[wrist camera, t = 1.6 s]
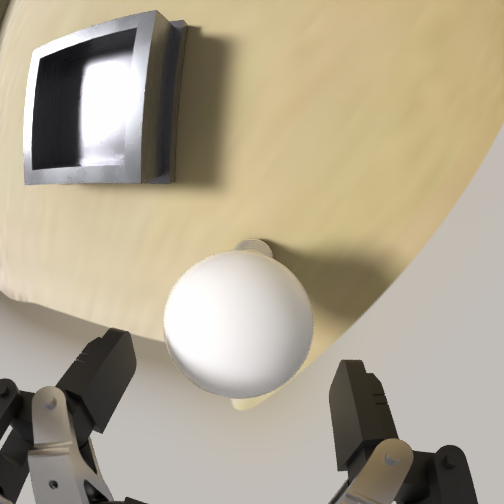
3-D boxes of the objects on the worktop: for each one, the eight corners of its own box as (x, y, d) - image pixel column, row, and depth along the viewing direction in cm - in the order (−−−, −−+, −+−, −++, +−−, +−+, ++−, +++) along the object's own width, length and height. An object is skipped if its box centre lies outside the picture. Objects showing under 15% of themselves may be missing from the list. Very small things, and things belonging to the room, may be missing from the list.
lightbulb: (288, 302, 20) (292, 434, 10) (202, 285, 20) (146, 405, 10) (310, 218, 18) (350, 323, 8) (213, 199, 18) (133, 280, 8)
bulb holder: (63, 53, 14) (30, 46, 10) (188, 25, 13) (166, 1, 9) (55, 181, 18) (21, 192, 14) (174, 181, 17) (149, 193, 14)
